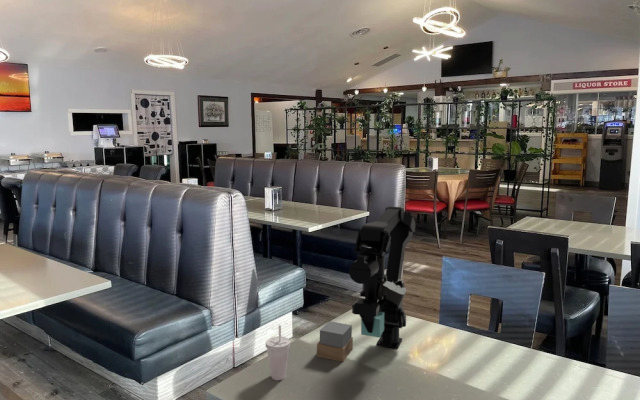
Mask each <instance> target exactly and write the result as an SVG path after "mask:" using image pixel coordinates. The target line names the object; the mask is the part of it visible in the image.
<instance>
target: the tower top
mask: <svg viewBox="0 0 640 400" xmlns="http://www.w3.org/2000/svg"><path fill="white" fill-rule="evenodd" d="M352 330H353V325H352V324H349V323H348V324H346V323H341V322H336V321H331V320H330V321H329V320H328V322H327V323H326V324H325V325H324V326H322V327H321V328H320V329H319V341H320V344H325V345H329V346H334V347H339V348H343V347H344V346H345V345H346V344H347V343H348V342H349V341H350V339H351V338H352V337H353V336H352V335H353V334H352V333H353V332H352Z"/></svg>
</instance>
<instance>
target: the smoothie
mask: <svg viewBox="0 0 640 400" xmlns="http://www.w3.org/2000/svg"><path fill="white" fill-rule="evenodd" d="M290 346H291V340H290V339H289V338H288V337H286V336H282V325H280V324H279V325H278V336H277V335H276V336H272V337H270V338H268V339H266V341H265V348H266V350H267V357H268V362H269V363H268V364H269V370H270V376H271V379H272V380H275V381H281V380H284V379H285V378H286V376H287V366H288V357H289V351H290V350H289V348H290Z"/></svg>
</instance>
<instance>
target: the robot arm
mask: <svg viewBox="0 0 640 400" xmlns="http://www.w3.org/2000/svg"><path fill="white" fill-rule="evenodd" d="M415 231H416V221H415V218H414V216H413V215H411V214H410V213H409V212H406V211H405V209H404V208H402V207H401V206H386V207H385V210H384V212H383V213H382V214H381V215H380V216H379V217H378V218H377V219H376V220H375V221H370V222H366V223H365V224H363V225H362V226H361V227H360V228H359V230H358V232H357V233H358V234H357V238H356V241H355V245H354V249H353V253H354V254H358V255H357V256H356V260H355V261H353V262H352V263H351V264H350V266H349V268H348V273H349V274H348V275H349V278H351V280H352V282H354V283H355V284H359V285H360V284H361V285H362V289H361V291H360V292H359V293H360V294H359V296H360V297H363V298H358V299H357V300H356V301H355V302H354V303H353V304H352V306H351V308H352V309H351V313H352V314H353V315H357V316H358V315H359V317H360V320H361V319H362V321H363V323H364V325H365V327H366V329H367V331H368V333H372V331H373V326H374V321H375V316H377V315H378V314H379V312H384V331H383V333H382V334H381V336H380V338H379V339H378V340H377V342H376V345H377V346H380V347H385V348H392V349H398V348H399V347H400V345H401V344H402V342H403V338H402V337H400V329H403V328H405V327H406V326H407V315H406V312H405V309H404V308H403V306H404V305H403V300H404V298H405V295H406V292H407V288H406V287H405V282H404V280H402V272H403V265H404V257H405V252H406V247H407V245H408V244H409V243H410V241H411V240H412V239H413V233H415ZM388 251H389V252H388ZM386 253H388V258H387V262H386V260H385V255H386ZM385 263H387V265H386V270H385Z"/></svg>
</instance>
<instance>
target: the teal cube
mask: <svg viewBox="0 0 640 400" xmlns="http://www.w3.org/2000/svg"><path fill="white" fill-rule="evenodd" d="M360 321H361V322H360V329H361V330H360V335H361V336H369V337H375V338H379V339H380V336H381V334H382V333H383V331H384V312H379V314H378V315H377V316H375V321H374V326H373V331H372V333H368V331H367V329H366V327H365V325H364V323H363V321H362V319H361V318H360Z"/></svg>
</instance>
